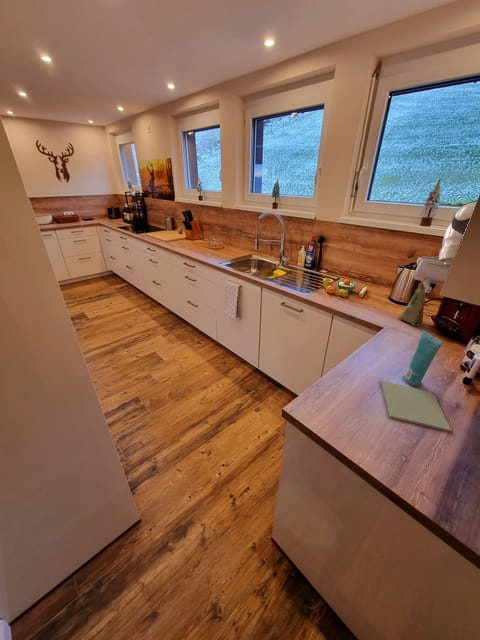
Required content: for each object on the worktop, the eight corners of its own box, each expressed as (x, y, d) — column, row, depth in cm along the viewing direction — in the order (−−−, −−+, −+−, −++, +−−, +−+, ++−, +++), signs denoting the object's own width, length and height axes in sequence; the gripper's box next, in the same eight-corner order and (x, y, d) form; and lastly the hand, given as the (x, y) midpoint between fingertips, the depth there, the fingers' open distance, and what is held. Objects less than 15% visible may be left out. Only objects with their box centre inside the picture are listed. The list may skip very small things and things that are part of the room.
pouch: (408, 327, 130) (428, 279, 118) (392, 316, 140) (408, 271, 128) (427, 326, 132) (448, 279, 120) (409, 315, 142) (427, 270, 130)
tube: (426, 386, 92) (449, 340, 83) (416, 389, 91) (438, 343, 81) (407, 373, 98) (427, 329, 89) (398, 376, 97) (417, 331, 87)
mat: (432, 394, 89) (433, 392, 89) (450, 432, 75) (451, 430, 75) (381, 383, 93) (381, 381, 92) (389, 417, 79) (390, 415, 79)
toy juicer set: (324, 295, 162) (326, 283, 158) (321, 285, 177) (323, 274, 174) (373, 300, 157) (376, 288, 154) (366, 289, 173) (369, 278, 169)
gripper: (421, 250, 93) (411, 284, 91) (494, 261, 85) (485, 299, 82) (416, 259, 99) (406, 292, 96) (483, 270, 91) (475, 306, 88)
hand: (443, 295), depth 89 cm, fingers open, 8 cm apart
